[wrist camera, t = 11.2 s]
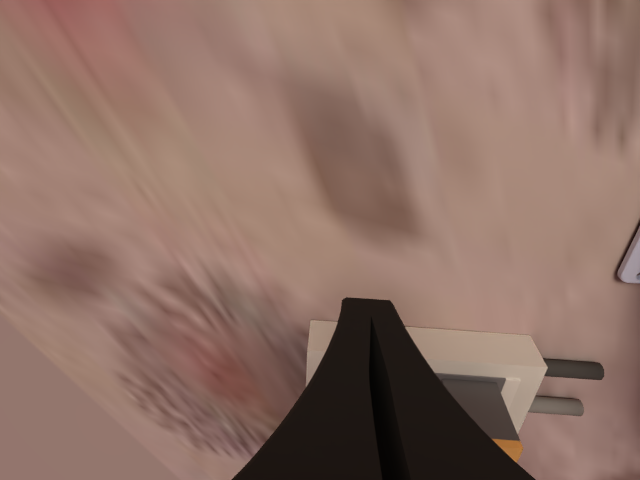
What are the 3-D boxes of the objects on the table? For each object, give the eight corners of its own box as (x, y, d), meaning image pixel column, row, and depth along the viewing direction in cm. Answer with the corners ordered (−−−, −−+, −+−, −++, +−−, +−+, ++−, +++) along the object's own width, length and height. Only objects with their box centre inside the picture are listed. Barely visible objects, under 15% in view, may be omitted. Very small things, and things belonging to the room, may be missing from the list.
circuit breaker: (529, 335, 24) (549, 370, 22) (495, 422, 28) (508, 459, 26) (310, 320, 25) (307, 352, 22) (307, 408, 29) (303, 443, 26)
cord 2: (577, 395, 26) (585, 409, 26) (572, 406, 27) (579, 419, 26) (499, 390, 27) (505, 403, 26) (496, 400, 27) (500, 413, 26)
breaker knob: (496, 382, 23) (523, 448, 19) (477, 433, 25) (498, 501, 21) (442, 378, 23) (458, 443, 19) (427, 430, 25) (440, 496, 22)
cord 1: (597, 359, 25) (606, 371, 24) (591, 370, 25) (599, 383, 24) (514, 353, 25) (520, 365, 24) (509, 364, 25) (515, 377, 25)
